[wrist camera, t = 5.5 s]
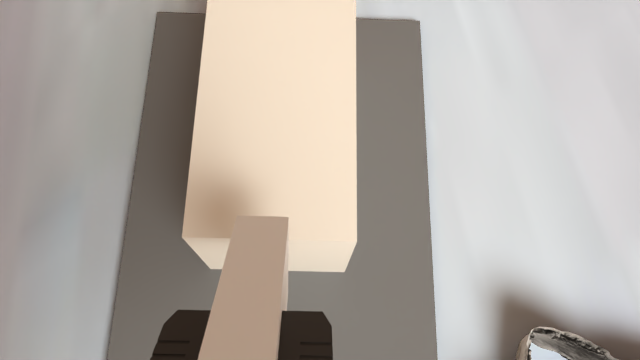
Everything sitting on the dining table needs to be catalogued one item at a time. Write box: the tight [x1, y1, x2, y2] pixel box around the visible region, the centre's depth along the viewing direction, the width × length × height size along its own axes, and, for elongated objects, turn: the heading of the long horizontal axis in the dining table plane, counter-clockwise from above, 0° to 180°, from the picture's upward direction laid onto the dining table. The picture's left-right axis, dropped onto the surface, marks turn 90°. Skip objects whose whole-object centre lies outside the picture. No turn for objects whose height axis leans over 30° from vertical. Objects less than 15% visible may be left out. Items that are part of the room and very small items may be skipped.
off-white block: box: [182, 0, 357, 272], centre depth 23 cm, size 6×6×12 cm
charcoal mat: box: [107, 12, 437, 360], centre depth 25 cm, size 14×20×1 cm
